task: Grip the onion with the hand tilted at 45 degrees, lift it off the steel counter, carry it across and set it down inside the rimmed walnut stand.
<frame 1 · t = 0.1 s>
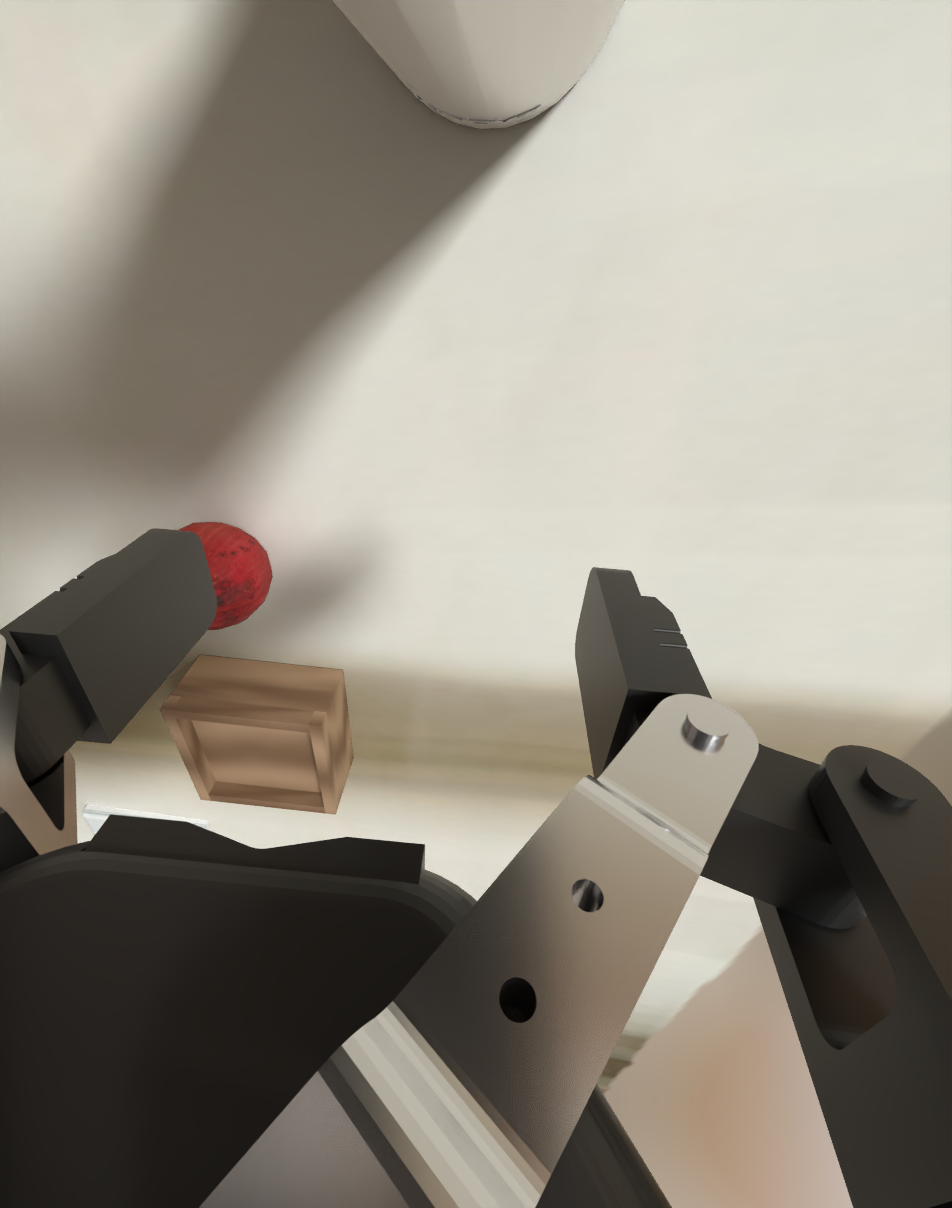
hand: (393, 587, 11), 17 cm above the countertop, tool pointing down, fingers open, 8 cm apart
walnut stand: (282, 710, 40), on the countertop
onion: (244, 539, 31), on the countertop
hard drive: (162, 826, 55), on the countertop
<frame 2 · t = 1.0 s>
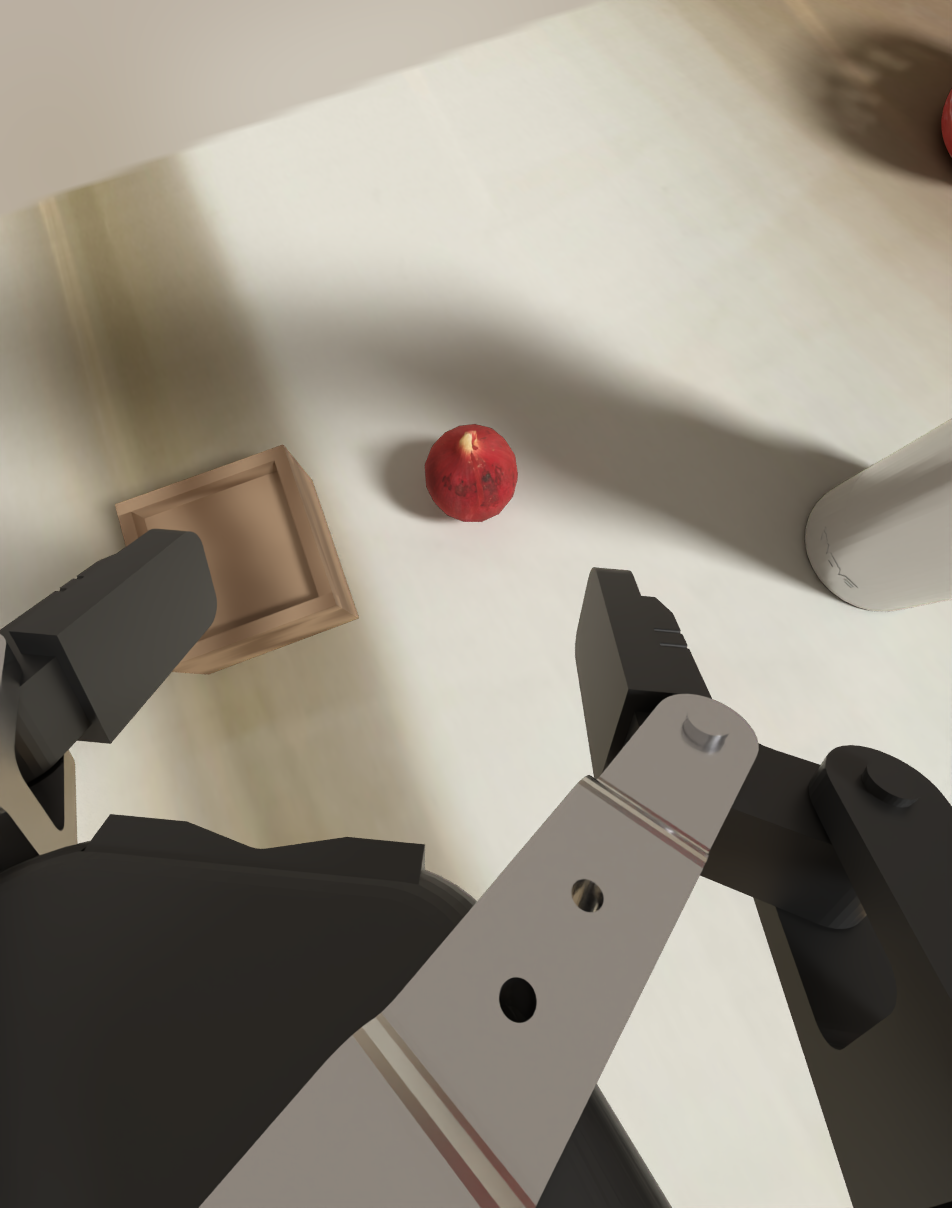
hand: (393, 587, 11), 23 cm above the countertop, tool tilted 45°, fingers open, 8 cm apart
walnut stand: (261, 574, 35), on the countertop
onion: (473, 498, 36), on the countertop
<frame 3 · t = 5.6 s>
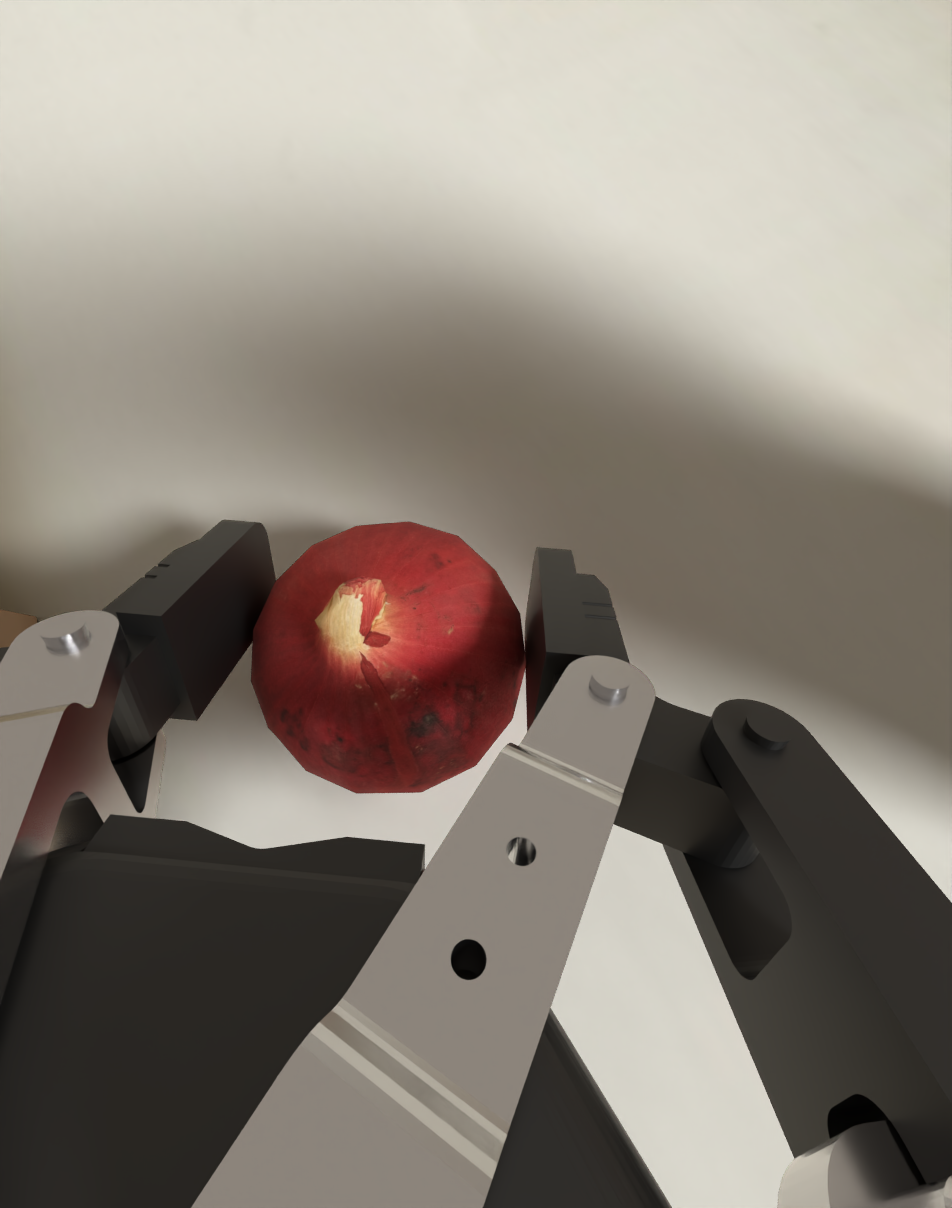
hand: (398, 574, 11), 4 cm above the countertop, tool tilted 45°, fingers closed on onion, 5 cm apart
onion: (415, 668, 15), on the countertop, touching gripper
when the fingers open (10 cm above the countertop, at t = 10.8 s): onion drops 1 cm, resting on walnut stand.
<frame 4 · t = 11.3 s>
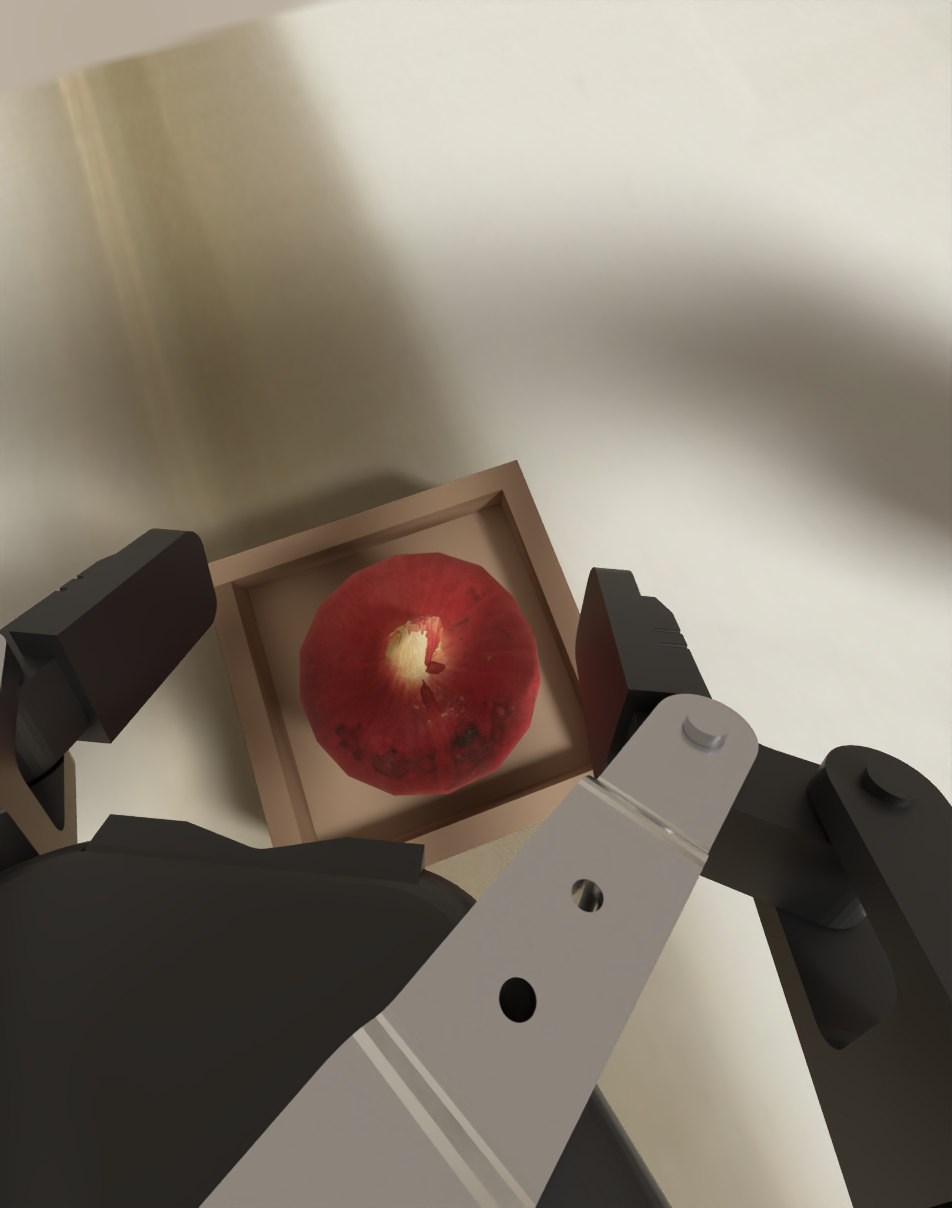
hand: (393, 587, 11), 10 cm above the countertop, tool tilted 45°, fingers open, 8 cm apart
walnut stand: (429, 678, 20), on the countertop
onion: (425, 677, 16), point 4 cm above the countertop, touching walnut stand
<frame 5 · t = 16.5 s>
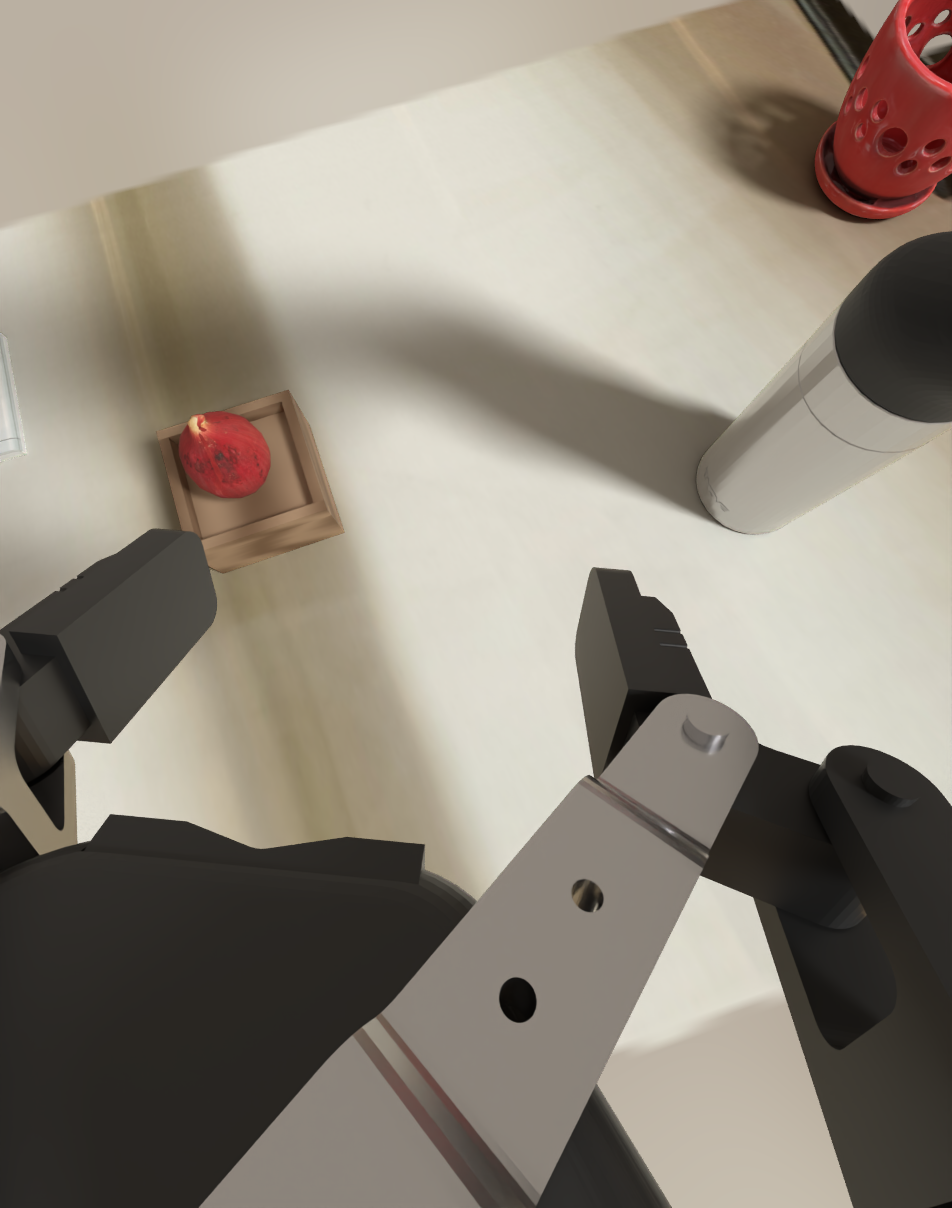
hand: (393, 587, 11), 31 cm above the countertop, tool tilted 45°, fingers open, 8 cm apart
walnut stand: (267, 497, 44), on the countertop
plant pot: (863, 185, 50), on the countertop
onion: (250, 480, 40), point 4 cm above the countertop, touching walnut stand
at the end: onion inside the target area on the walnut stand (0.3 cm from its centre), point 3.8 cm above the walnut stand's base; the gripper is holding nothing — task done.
